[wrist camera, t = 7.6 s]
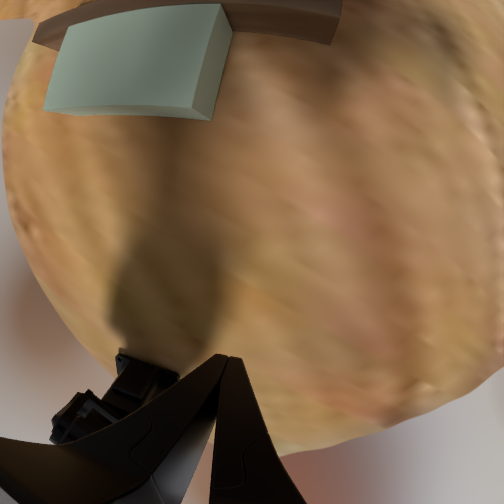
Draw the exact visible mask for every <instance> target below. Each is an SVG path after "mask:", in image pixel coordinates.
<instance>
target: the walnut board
mask: <svg viewBox="0 0 504 504" xmlns="http://www.w3.org/2000/svg"><path fill="white" fill-rule="evenodd" d="M185 4H221V6H222V8H223V10H224V12H225V15H226V17H227V20H228V22H229V24H230V27H231V29H232V31H244V32H255V33H265V34H273V35H280V36H287V37H293V38H299V39H304V40H309V41H314V42H318V43H323V44H327V45H331V42H332V39H333V36H334V34H335V31H336V28H337V25H338V22H339V20H340V15H341V6H342V0H98V1H95V2H92V3H88V4H85V5H83V6H80V7H77V8H74V9H72V10H69V11H66V12H64V13H61V14H59V15H56V16H54V17H52V18H50V19H47V20H45V21H43V22H41V23H39V25H38V28H37V30H36V32H35V35H34V37H33V40H32V42H34V43H37V44H40V45H43V46H46V47H48V48H51V49H54V50H57V51H60V48H61V45H62V42H63V40H64V37H65V35H66V32H67V30H68V27H69V26H72V25H75V24H78V23H82V22H85V21H89V20H92V19H96V18H100V17H104V16H108V15H113V14H117V13H122V12H128V11H133V10H139V9H146V8H153V7H162V6H172V5H185Z"/></svg>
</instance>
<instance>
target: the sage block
mask: <svg viewBox="0 0 504 504" xmlns="http://www.w3.org/2000/svg"><path fill="white" fill-rule="evenodd" d="M232 35H233V32H232V29H231V27H230V24H229V22H228V20H227V17H226V15H225V12H224V10H223V8H222V6H221V4H185V5H172V6H162V7H153V8H146V9H139V10H133V11H128V12H122V13H117V14H113V15H108V16H104V17H100V18H96V19H92V20H89V21H85V22H82V23H78V24H75V25H72V26H69V27H68V30H67V32H66V35H65V37H64V40H63V42H62V45H61V48H60V51H59V54H58V57H57V60H56V63H55V66H54V69H53V72H52V76H51V79H50V83H49V87H48V91H47V95H46V99H45V103H44V108H43V111H49V112H56V113H63V114H69V115H75V116H85V115H143V116H163V117H177V118H188V119H198V120H207V121H211V120H212V116H213V111H214V107H215V102H216V98H217V94H218V89H219V85H220V81H221V77H222V73H223V69H224V65H225V61H226V57H227V54H228V50H229V46H230V43H231V39H232Z"/></svg>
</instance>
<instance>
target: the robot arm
mask: <svg viewBox="0 0 504 504" xmlns="http://www.w3.org/2000/svg"><path fill="white" fill-rule="evenodd" d="M120 358H121V359H120ZM115 359H116V367H117V374H118V377H117V378H116V379H115V381H114V382H113V384H112V385H111V387H110V388H109V390H108V391H107V392H106V394H105V395H104V396H103V398H102V399H101V400H100V399H99V398H98V397H97V396H95V395H94V394H93V392H92V391H91V390H90V389H88V390H87V391H86V392H85V393H80V392H77V394H76V395H75V396H74V397H73V398H72V400H71V401H70V402H69V403H68V404H67V405H66V406H65V407H64V408H62V410H60V411H59V412H58V413H57V414H56V415H55V416H54V417H53V418H52V420H51V421H52V425H53V429H52V435H51V436H50V439H49V440H50V441H51V442H52V443H53V444H55V445H48V444H40V443H32V442H25V441H19V440H13V439H8V438H3V437H0V504H181V502H182V500H183V497H184V495H185V493H186V491H187V488H188V486H189V484H190V481H191V479H192V477H193V474H194V472H195V470H196V467H197V465H198V463H199V460H200V458H201V455H202V453H203V451H204V448H205V446H206V444H207V441H208V439H209V436H210V434H211V431H212V429H213V427H214V424H215V421H216V428H215V438H214V450H213V460H212V472H211V484H210V497H209V504H307V503H306V501H305V500H304V498H303V497H302V495H301V494H300V492H299V490H298V489H297V488H296V486H295V484H294V483H293V481H292V480H291V478H290V476H289V475H288V473H287V471H286V470H285V468H284V466H283V464H282V462H281V461H280V459H279V457H278V455H277V452H276V450H275V448H274V446H273V443H272V441H271V438H270V435H269V434H268V430H267V428H266V425H265V422H264V420H263V417H262V414H261V411H260V409H259V406H258V403H257V400H256V397H255V394H254V392H253V389H252V386H251V383H250V380H249V377H248V374H247V371H246V368H245V365H244V363H243V360H242V359H241V358H238V357H233V356H230V357H228V356H227V355H222V354H215V355H213V356H212V357H211V358H209V359H208V360H207V361H205V362H204V363H203V364H201V365H200V366H199V367H197V368H196V369H195V370H193V371H192V372H191V373H189V374H188V375H186V376H185V377H184V378H182V379H181V380H180V381H179V375H178V374H177V373H176V372H173V371H170V370H166V369H163V368H160V367H157V366H154V365H151V364H148V363H145V362H143V361H140V360H137V359H134V358H132V357H129V356H126V355H124V354H121V353H118V354H117V356H116V357H115ZM172 376H173V377H172ZM174 377H175V378H174Z"/></svg>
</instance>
